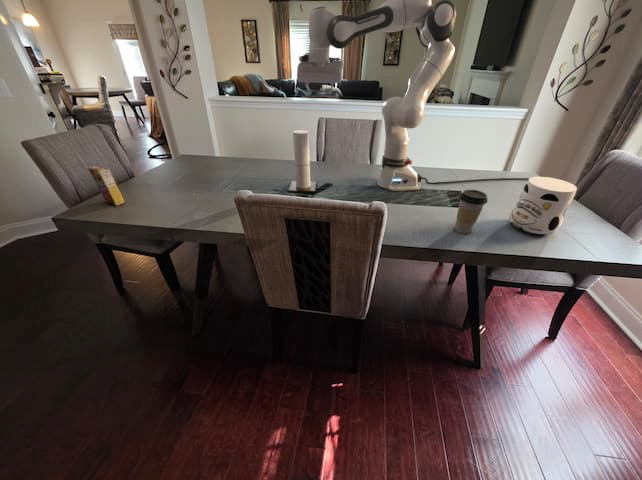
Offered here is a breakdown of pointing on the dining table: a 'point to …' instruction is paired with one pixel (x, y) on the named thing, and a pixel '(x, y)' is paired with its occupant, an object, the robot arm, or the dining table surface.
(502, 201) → the dining table surface
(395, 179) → the robot arm
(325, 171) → the dining table surface
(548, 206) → the milk container
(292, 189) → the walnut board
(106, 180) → the candy box
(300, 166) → the cylindrical container
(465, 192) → the coffee cup
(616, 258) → the dining table surface
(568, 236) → the dining table surface
